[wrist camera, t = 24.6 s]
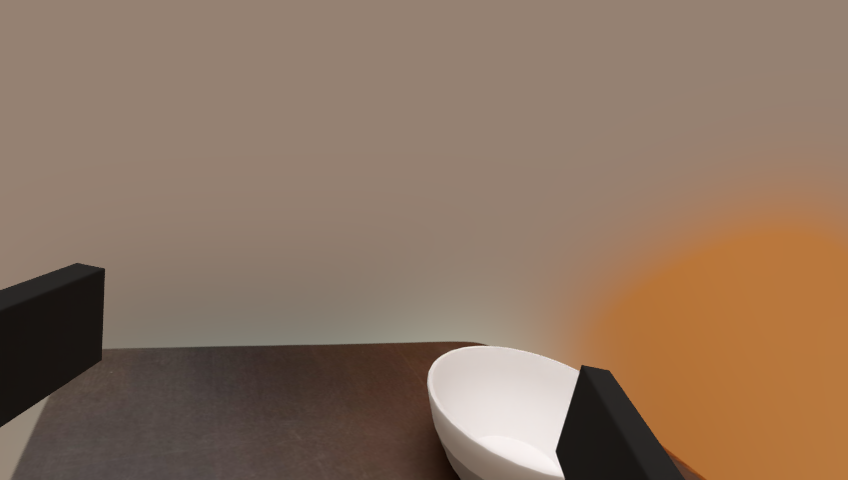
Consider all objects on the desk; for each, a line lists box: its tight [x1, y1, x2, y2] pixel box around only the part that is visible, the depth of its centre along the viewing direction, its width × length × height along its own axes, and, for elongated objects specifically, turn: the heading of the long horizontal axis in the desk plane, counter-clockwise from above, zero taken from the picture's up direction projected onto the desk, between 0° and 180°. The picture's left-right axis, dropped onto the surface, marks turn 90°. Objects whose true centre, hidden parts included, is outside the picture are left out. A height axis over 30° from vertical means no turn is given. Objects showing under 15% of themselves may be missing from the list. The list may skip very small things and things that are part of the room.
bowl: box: [427, 346, 580, 480], centre depth 42 cm, size 20×19×8 cm
